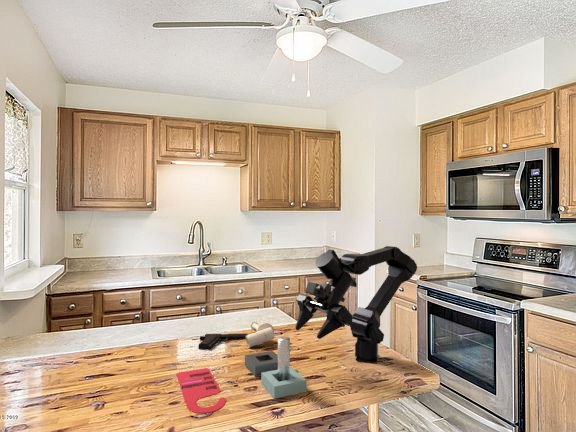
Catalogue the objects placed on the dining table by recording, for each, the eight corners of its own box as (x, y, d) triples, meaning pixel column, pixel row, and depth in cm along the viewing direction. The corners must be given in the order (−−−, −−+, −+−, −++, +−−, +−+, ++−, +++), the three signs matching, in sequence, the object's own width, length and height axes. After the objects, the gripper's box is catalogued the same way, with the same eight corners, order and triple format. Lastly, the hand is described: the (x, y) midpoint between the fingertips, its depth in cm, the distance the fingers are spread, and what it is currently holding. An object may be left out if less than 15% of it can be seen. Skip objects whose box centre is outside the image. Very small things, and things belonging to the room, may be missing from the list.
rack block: (291, 377, 107) (291, 367, 107) (306, 391, 99) (306, 380, 99) (261, 383, 104) (261, 372, 104) (274, 398, 95) (274, 386, 95)
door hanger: (208, 367, 114) (230, 407, 91) (208, 369, 114) (230, 409, 91) (175, 372, 110) (189, 415, 87) (175, 374, 110) (189, 418, 87)
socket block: (272, 360, 120) (272, 350, 120) (284, 371, 112) (284, 360, 112) (244, 365, 116) (244, 355, 116) (255, 376, 108) (255, 366, 108)
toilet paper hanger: (281, 341, 133) (276, 322, 134) (251, 352, 130) (246, 333, 130) (264, 330, 153) (259, 314, 153) (237, 340, 149) (233, 323, 149)
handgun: (250, 344, 131) (247, 332, 142) (198, 345, 127) (200, 332, 139) (249, 351, 131) (247, 338, 142) (197, 352, 128) (199, 338, 139)
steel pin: (289, 384, 103) (289, 336, 103) (290, 390, 100) (290, 340, 100) (277, 384, 103) (277, 336, 103) (277, 390, 100) (278, 340, 100)
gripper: (301, 267, 117) (270, 308, 110) (345, 276, 102) (313, 324, 95) (320, 290, 121) (292, 331, 115) (365, 301, 107) (336, 349, 100)
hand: (306, 333), depth 106 cm, fingers open, 9 cm apart
